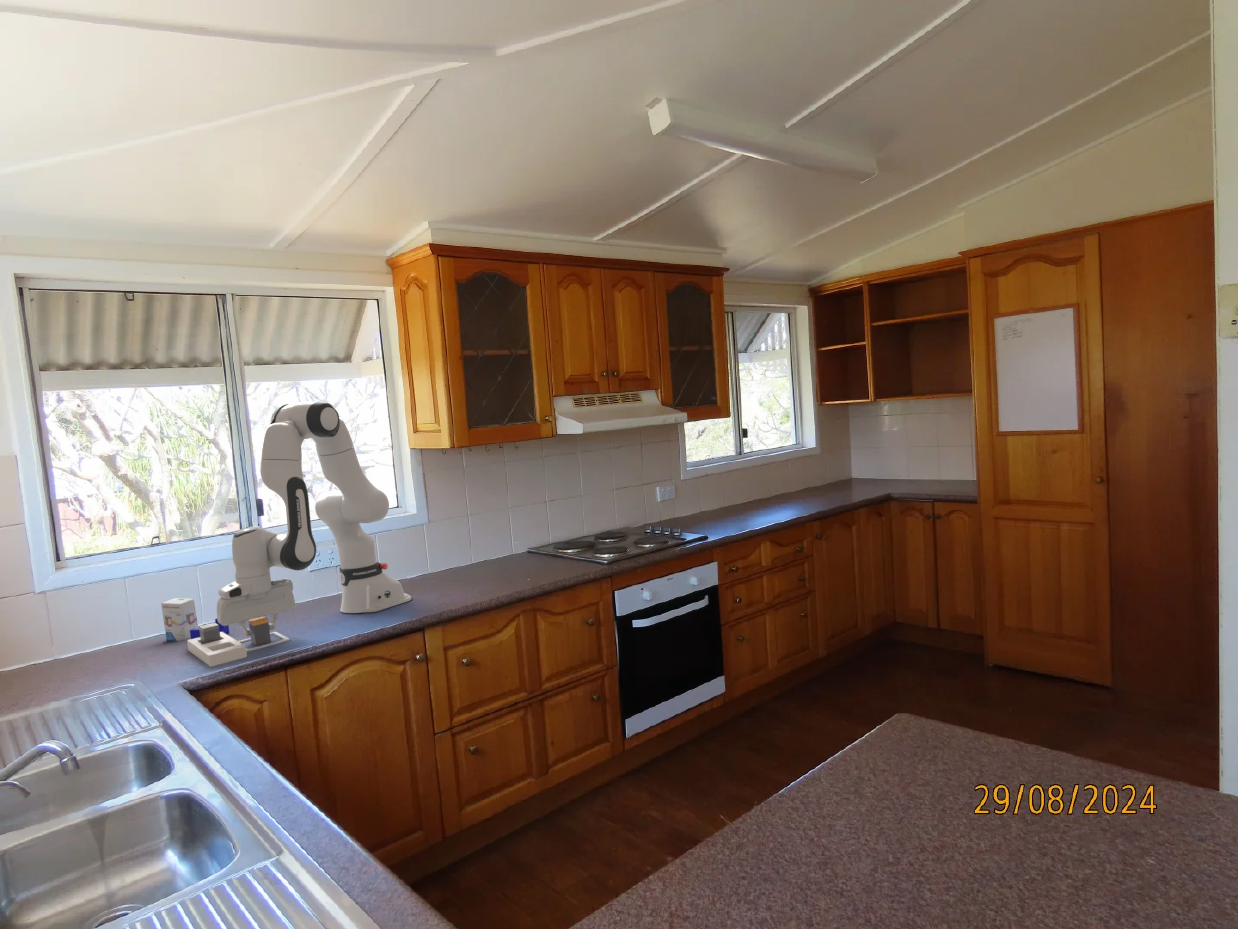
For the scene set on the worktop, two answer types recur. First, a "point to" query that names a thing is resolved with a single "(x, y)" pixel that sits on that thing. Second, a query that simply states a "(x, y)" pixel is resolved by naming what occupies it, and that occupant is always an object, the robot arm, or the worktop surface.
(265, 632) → the plug
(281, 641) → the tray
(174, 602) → the ink box
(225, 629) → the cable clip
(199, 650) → the white slotted block
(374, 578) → the robot arm
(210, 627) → the twin plug
